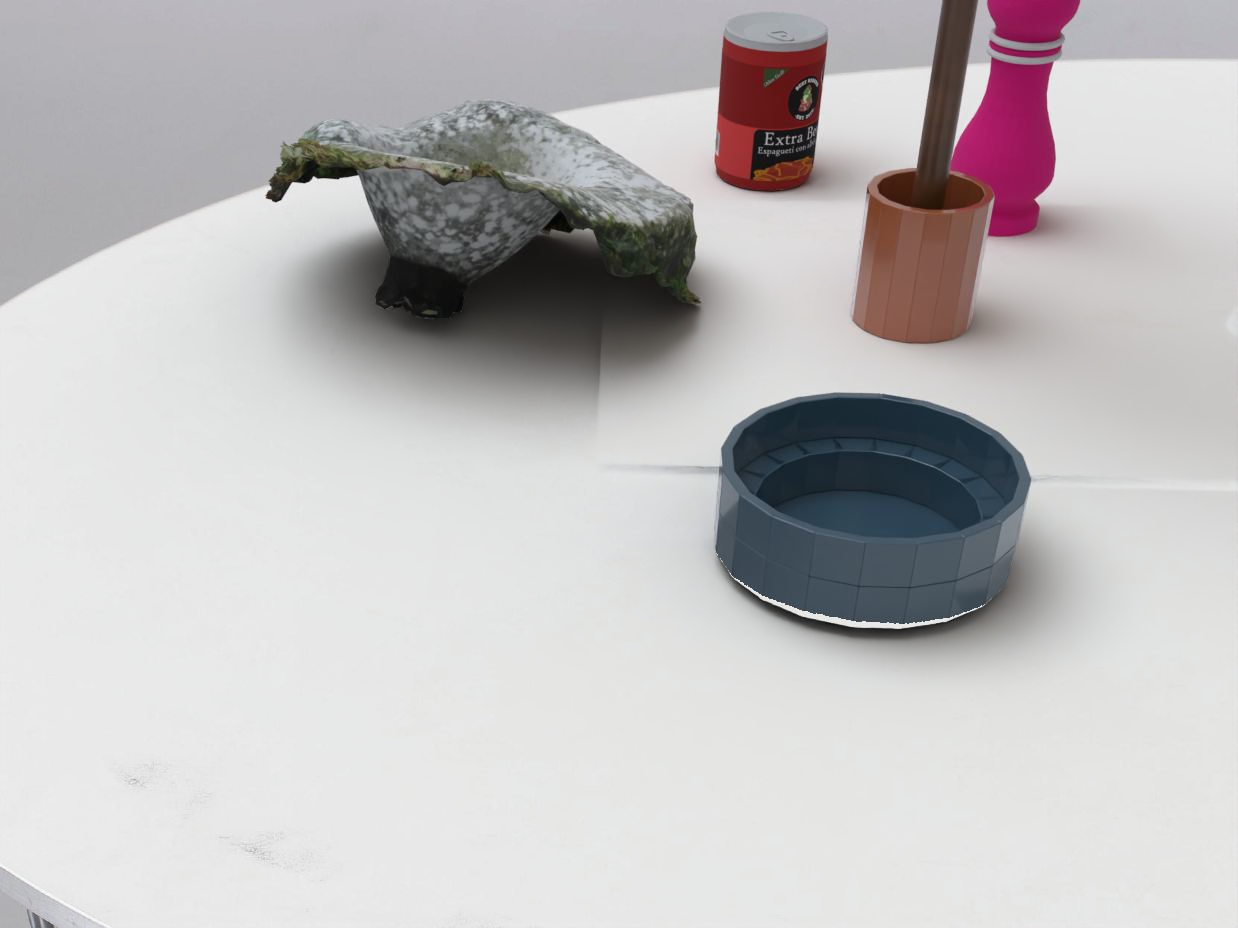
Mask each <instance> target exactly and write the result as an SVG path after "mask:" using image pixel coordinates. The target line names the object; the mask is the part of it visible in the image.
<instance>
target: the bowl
mask: <svg viewBox="0 0 1238 928" xmlns="http://www.w3.org/2000/svg"><path fill="white" fill-rule="evenodd" d="M1031 484H1032V476H1031V473H1030V471H1029V468H1028V466H1027V463H1026V460H1025V457H1024V455H1023V454H1022V452H1020V451H1019V450H1018V449H1017V448H1016V446H1014V445H1013V444H1012V442H1010V441H1009V439H1007V438H1006V437H1005V436H1004V435H1003V434H1002V433H1000V431H998V430H996V429H994V428H992V427H991V426H989V425H987V424H985V423H983V422H982V421H980V420H978V419H976V418H975V417H973V416H971V415H969V414H966V413H964V412H961V411H958V410H955V409H952V408H950V407H946V406H943V405H941V404H938V403H937V404H936V403H935V402H932V401H928V400H924V399H918V398H913V397H912V398H911V397H905V396H900V395H893V394H887V393H880V392H879V393H877V392H842V391H841V392H840V391H839V392H838V391H837V392H836V391H835V392H828V393H827V392H825V393H819V394H811V395H803V396H796V397H792V398H790V399H787V400H783V401H780V402H777V403H774V404H771V405H768V406H765V407H762V408H759V409H757V410H756V411H755V412H753V413H752V414H750V415H749V416H747V417H745V418H744V419H742V420H741V421H740V422H738V423H737V424H735V425H734V426H733V427H732V429H731V431H730V432H729V434H728V436H727V437H726V439H725V440H724V442H723V444H722V445H721V448H720V454H719V468H718V478H717V491H716V502H715V503H716V504H715V514H714V524H713V535H714V549H715V551H716V552H715V554H716V553H717V554H718V556H719V557H718V556H717V557H718V559H719V558H721V560H722V561H723V563H724V565H725V566H726V567H727V569H728V570H729V572H730V573H731V575H732V576H733V577H734V578H736V579H738V580H740V582H743V583H744V585H746V586H747V585H748V587H750V588H752V589H753V590H754V591H756V592H758V593H759V594H761V595H762V596H765V597H768V598H769V599H773V600H776V601H777V602H781V603H785V605H789V606H792V607H794V608H797V609H799V610H802V611H808V612H810V613H813V614H816V613H817V614H823V615H825V616H829V617H838V618H841V619H846V620H851V621H856V622H862V621H866V622H880V623H887V622H889V623H894V624H896V623H899V624H905V623H907V624H909V623H913V622H915V623H917V622H922V621H923V622H925V621H930V620H935V619H943V618H950V617H952V616H953V617H954V616H955V615H959V614H961V613H963V612H967V611H970V610H972V609H974V608H978V607H980V606H981V605H982V606H983V605H984V604H986V602H988V601H989V600H990V599H991V598H993V597H994V596H995V595H996V594H997V593H998V592H999V591H1000V592H1001V591H1002V590H1004V588H1006V586H1008V581H1009V579H1010V574H1011V571H1012V568H1013V564H1014V560H1015V556H1016V552H1017V547H1018V543H1019V539H1020V534H1021V529H1022V524H1023V520H1024V516H1025V511H1026V507H1027V502H1028V498H1029V493H1030V490H1031V489H1030V488H1031ZM717 554H716V555H717ZM721 560H720V561H721ZM723 563H722V564H723ZM724 565H723V566H724ZM725 566H724V567H725ZM727 569H726V570H727ZM1000 592H999V593H1000ZM999 593H998V594H999ZM998 594H997V595H998ZM997 595H996V596H997ZM996 596H995V597H996ZM995 597H994V598H995ZM994 598H993V599H994ZM991 600H992V599H991ZM991 600H990V601H991ZM990 601H989V602H990ZM989 602H988V603H989ZM986 605H987V604H986Z"/></svg>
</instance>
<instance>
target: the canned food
mask: <svg viewBox="0 0 1238 928" xmlns="http://www.w3.org/2000/svg"><path fill="white" fill-rule="evenodd" d="M828 31H829V28H828V26H827V25H826V24H825V23H823V22H822V21H821V20H818V19H816V18H813V17H811V16H808V15H803V14H798V13H792V12H783V11H758V12H750V13H749V12H748V13H745V14H741V15H738V16H735V17H732V18H730V19H729V20H727V22H725V24H724V30H723V36H722V48H721V60H720V73H719V75H720V76H719V91H718V105H717V117H716V119H717V121H716V133H715V134H716V135H715V145H714V146H715V148H714V166H715V170H716V173H717V176H719V178H720V179H721V180H722V181H724V182H726V183H727V184H729V185H731V186H735V187H738V188H741V189H744V190H745V189H746V190H751V191H763V192H777V191H785V190H790V189H793V188H797V187H799V186H801V185H803V184H804V183H806V182H807V181H808V180H809V178H810V177H811V174H812V171H813V169H814V165H815V156H816V148H817V139H818V132H819V131H818V130H819V121H820V114H821V105H822V95H823V86H824V79H825V69H826V61H827V50H828V41H829V35H828Z"/></svg>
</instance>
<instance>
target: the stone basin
mask: <svg viewBox="0 0 1238 928" xmlns="http://www.w3.org/2000/svg"><path fill="white" fill-rule="evenodd" d="M281 144H282V145H280V146H279V147H280V148H281V152H280V154H279V156H280V157H279V159H280V161H281V164H280V166H276V169H275V172H273V175H272V176H271V178H270V179H269V180H268V186H270V187H271V188H270V189H269V190H267V192H266V194H264V196H265V199H266V200H271V202H272V203H278V202H281V201H282V200H283V198H284V197H285V195H286V194H287V192H288V190H289V189H290V187H291V185H292V184H293V183H297V184H307V183H310V182H311V181H312V180H313V178H314V179H317V180H321V179H323V180H324V179H327V180H339V181H340V179H346V178H351V177H357V176H358V178H359V180H360V183H361V187H362V190H363V193H364V196H365V199H366V202H367V206H368V207H369V210H370V213H371V215H372V217H373V221H374V222H375V225H376V227H377V229H378V231H379V233H380V235H381V238H382V240H383V242H384V245H385V247H386V250H387V252H388V256H389V260H388V266H387V267H386V270H385V274H384V278H383V280H382V282H381V283H380V285H379V286H378V287H377V289H376V290H375V293H374V301H375V305H376V306H377V307H379V308H380V309H382V310H389V309H390V308H391V307H392V308H393V309H397V308H403V309H404V311H405V313H411V314H412V316H414V317H416V318H420V319H423V320H446V319H450V318H452V317H453V316H454V314H455V313H462V312H463V310H464V306H465V294H466V292H467V291H468V289H469V287H470V285H471V284H472V283H473V282H474V281H476V280H477V279H479V278H481V277H483V276H485V275H486V274H488V273H489V272H491V271H492V270H494V269H496V268H497V267H499V266H500V265H502V264H503V263H504V262H506V261H507V260H509V259H510V258H512V257H513V256H514V255H516V254H517V253H518V252H520V251H521V250H522V249H523V248H524V247H526V246H527V245H528V244H529V243H530V242H531V241H532V240H533V239H534V238H535V237H536V236H537V235H538V234H539V233H541V234H544V235H547V236H549V235H551V231H558V232H562V233H567V234H571V233H572V232H574V231H575V230H577V231H578V230H579V231H580V230H582V231H584V230H587V229H589V230H590V231H592V232H593V236H594V238H595V241H596V244H597V246H598V249H599V250H600V253H601V256H602V261H603V264H604V267H605V269H606V271H607V273H608V274H610V275H612V276H616V277H623V278H627V277H628V278H629V277H635V276H639V275H651V274H652V275H653V276H654V279H655V281H656V282H657V284H658V285H660V286H661V287H662V288H665V287H666V289H667V291H668V293H669V295H672V296H674V297H675V298H676V299H678V300H679V301H680V302H682V303H683V304H691V305H692V304H694V305H697V304H700V305H702V303H703V302H702V301H701V298H699V296H697V295H695V294H694V293H693V292H692V291H690V289H689V287H688V280H687V279H688V276H689V274H690V272H691V269H692V267H693V265H694V263H695V261H696V257H697V256H696V246H697V241H698V235H697V231H696V227H695V226H696V225H695V219H694V203H693V202H692V200H691V198H690V197H689V196H686V195H685V194H684V193H681V192H679V191H677V190H676V189H675V188H673V187H672V186H669V185H666V184H664V183H663V182H662V181H661V180H660V179H658V178H656V177H654V176H653V175H651V174H650V173H648V172H646V171H645V170H644V169H643V168H641V167H639V166H638V165H636V164H635V163H633V162H631V161H630V160H629V159H627V158H626V157H624V156H623V155H621V154H620V153H618V152H615V151H614V150H613V149H612V148H610V147H608V146H607V145H605V144H603V143H601V142H600V141H599V140H598V139H597V138H596V137H595V136H594V135H593V134H592V133H589V132H588V131H585V130H583V129H581V128H578V127H575V126H572V125H571V124H568V123H565V122H563V121H562V120H560V119H558V118H557V117H556V116H554V115H552V114H551V113H549V112H547V111H545V110H542V109H539V108H536V107H534V106H530V105H524V104H520V103H519V102H517V101H512V100H510V99H491V98H490V99H489V98H484V99H476V100H475V99H474V100H473V99H472V100H464V101H463V102H461V103H458V104H456V105H455V106H454V107H453V108H450V109H447V110H444V111H440V112H437V113H434V114H431V115H428V116H424V117H421V118H419V119H416V120H414V121H411V122H409V123H408V124H406V125H403V126H389V125H384V124H378V125H377V124H376V125H373V124H363V123H360V122H357V121H356V122H355V121H352V120H350V119H346V118H340V117H339V118H338V117H337V118H332V119H331V118H330V119H328V120H321V121H320V122H319V121H318V122H317V123H315V124H313V126H311V127H310V128H309V129H308V130H306V131H304V133H303V135H302V136H301V137H299V138H298V139H297V142H293V144H292V143H290V145H288V144H287V143H286V142H285V141H282V142H281Z"/></svg>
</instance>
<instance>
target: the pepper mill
mask: <svg viewBox="0 0 1238 928" xmlns="http://www.w3.org/2000/svg"><path fill="white" fill-rule="evenodd" d="M986 5H987V11H988V13H989V16H990V18H991V19H992V21H993V23H994V27H993V28H991V29H990V31H989V32H988V38H989V41H988V44H987V45H986V48H985V50H986V53H987V54H988V55H989V56H990V68H989V76H988V80H987V84H986V87H985V88H986V89H985V91H984V95H983V97H982V100H981V102H980V104H979V106H978V108H977V110H976V112H975V113H974V115H973V116H972V118H971V119H970V121H969V122H968V123H967V125H966V127H965V128H964V130H963V131H962V133H961V134H960V136H959V138H958V141H957V143H956V145H955V146H954V148H953V154H952V160H951V166H950V171H956V172H960V173H963V174H966V175H969V176H972V177H975V178H977V179H980V180H981V181H983V182H984V183H986V184H987V185H989V186H990V187H991V188H992V191H993V193H994V195H995V198H994V203H993V209H992V214H991V220H990V225H989V231H988V236H987V237H998V238H999V237H1002V238H1004V237H1015V236H1022V235H1026V234H1028V233H1030V232H1032V231H1033V230H1035V229H1036V227H1037V225H1038V221H1039V217H1040V216H1039V215H1040V211H1041V207H1040V204H1039V203H1038V202H1037V200H1036V199H1037V198H1038V197H1039V196H1040V195H1041V194H1043V193H1045V191H1046V190H1047V189H1048V188H1049V187H1050V186H1051V184H1052V182H1053V180H1054V178H1055V171H1056V169H1055V168H1056V164H1057V163H1056V161H1057V155H1056V154H1057V153H1056V143H1055V138H1054V134H1053V129H1052V126H1051V120H1050V114H1049V109H1048V89H1049V82H1050V76H1051V73H1052V70H1053V66H1054V63H1055V61H1057V60H1060V58H1062V56H1063V49H1062V47H1063V44H1064V43H1065V41H1066V37H1065V34H1063V32H1062V30H1063V29H1064V27H1066V26H1067V25H1068V24H1069V23H1070V22H1071V21H1072V20H1073V19H1074V17H1075V16H1076V15H1077V12H1078V10H1079V7H1080V5H1081V0H986Z"/></svg>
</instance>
